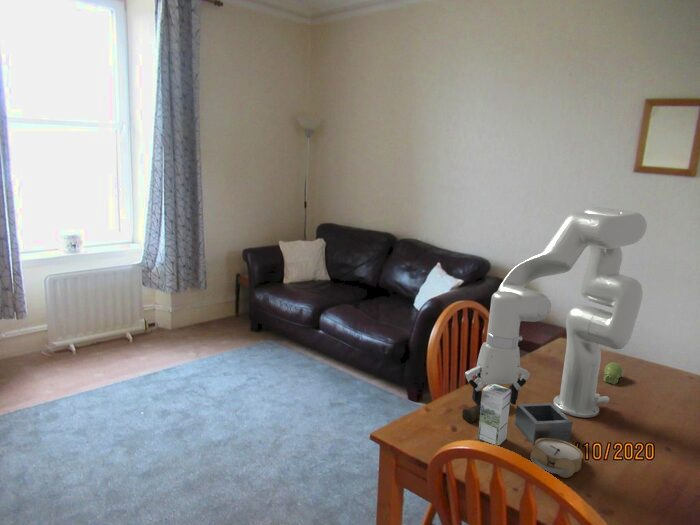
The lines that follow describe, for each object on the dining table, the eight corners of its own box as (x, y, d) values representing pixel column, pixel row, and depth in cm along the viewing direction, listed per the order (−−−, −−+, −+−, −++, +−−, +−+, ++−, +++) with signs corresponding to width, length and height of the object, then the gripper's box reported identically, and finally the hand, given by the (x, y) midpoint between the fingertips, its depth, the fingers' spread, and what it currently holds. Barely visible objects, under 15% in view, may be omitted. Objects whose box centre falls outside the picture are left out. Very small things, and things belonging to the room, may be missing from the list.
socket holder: (549, 422, 147) (551, 402, 146) (569, 442, 137) (572, 422, 136) (514, 424, 145) (517, 404, 144) (533, 444, 135) (535, 423, 134)
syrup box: (506, 438, 138) (512, 388, 134) (497, 448, 133) (502, 396, 130) (486, 430, 141) (491, 381, 138) (476, 439, 137) (481, 388, 134)
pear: (625, 362, 178) (619, 376, 170) (623, 375, 180) (617, 389, 172) (607, 357, 181) (601, 371, 174) (606, 370, 183) (599, 384, 175)
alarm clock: (587, 448, 130) (574, 466, 117) (584, 467, 130) (571, 487, 118) (542, 433, 136) (525, 448, 124) (538, 451, 136) (521, 468, 124)
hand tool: (471, 425, 144) (472, 410, 143) (460, 419, 147) (462, 404, 146) (515, 409, 155) (517, 394, 154) (504, 403, 158) (506, 389, 157)
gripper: (526, 335, 136) (518, 395, 140) (463, 335, 133) (457, 396, 137) (541, 345, 129) (532, 408, 132) (475, 345, 126) (468, 410, 130)
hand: (494, 402), depth 135 cm, fingers open, 9 cm apart
